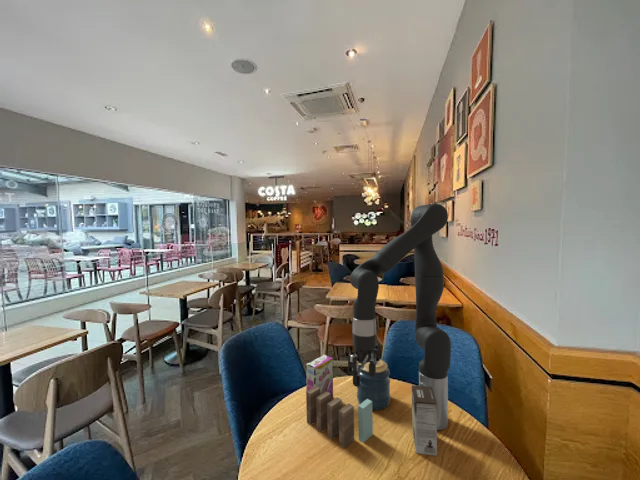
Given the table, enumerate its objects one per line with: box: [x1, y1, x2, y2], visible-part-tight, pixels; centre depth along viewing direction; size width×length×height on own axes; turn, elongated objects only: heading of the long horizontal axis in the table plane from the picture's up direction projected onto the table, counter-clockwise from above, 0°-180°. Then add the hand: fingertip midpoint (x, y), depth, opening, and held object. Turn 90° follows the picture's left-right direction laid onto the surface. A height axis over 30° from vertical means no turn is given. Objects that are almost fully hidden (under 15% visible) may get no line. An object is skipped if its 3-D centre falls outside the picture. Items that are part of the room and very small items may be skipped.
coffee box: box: [411, 384, 438, 456], centre depth 86 cm, size 9×6×16 cm
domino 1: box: [305, 386, 320, 426], centre depth 97 cm, size 2×5×11 cm, turn 135°
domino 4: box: [338, 403, 355, 449], centre depth 87 cm, size 2×5×11 cm, turn 135°
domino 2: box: [316, 391, 332, 433], centre depth 94 cm, size 2×5×11 cm, turn 135°
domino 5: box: [357, 399, 374, 443], centre depth 89 cm, size 2×5×11 cm, turn 136°
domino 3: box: [327, 397, 343, 441], centre depth 90 cm, size 2×5×11 cm, turn 136°
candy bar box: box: [305, 354, 334, 399], centre depth 108 cm, size 11×5×16 cm, turn 139°
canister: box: [356, 358, 391, 411], centre depth 108 cm, size 13×13×18 cm
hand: (364, 380), depth 89 cm, fingers open, 8 cm apart
